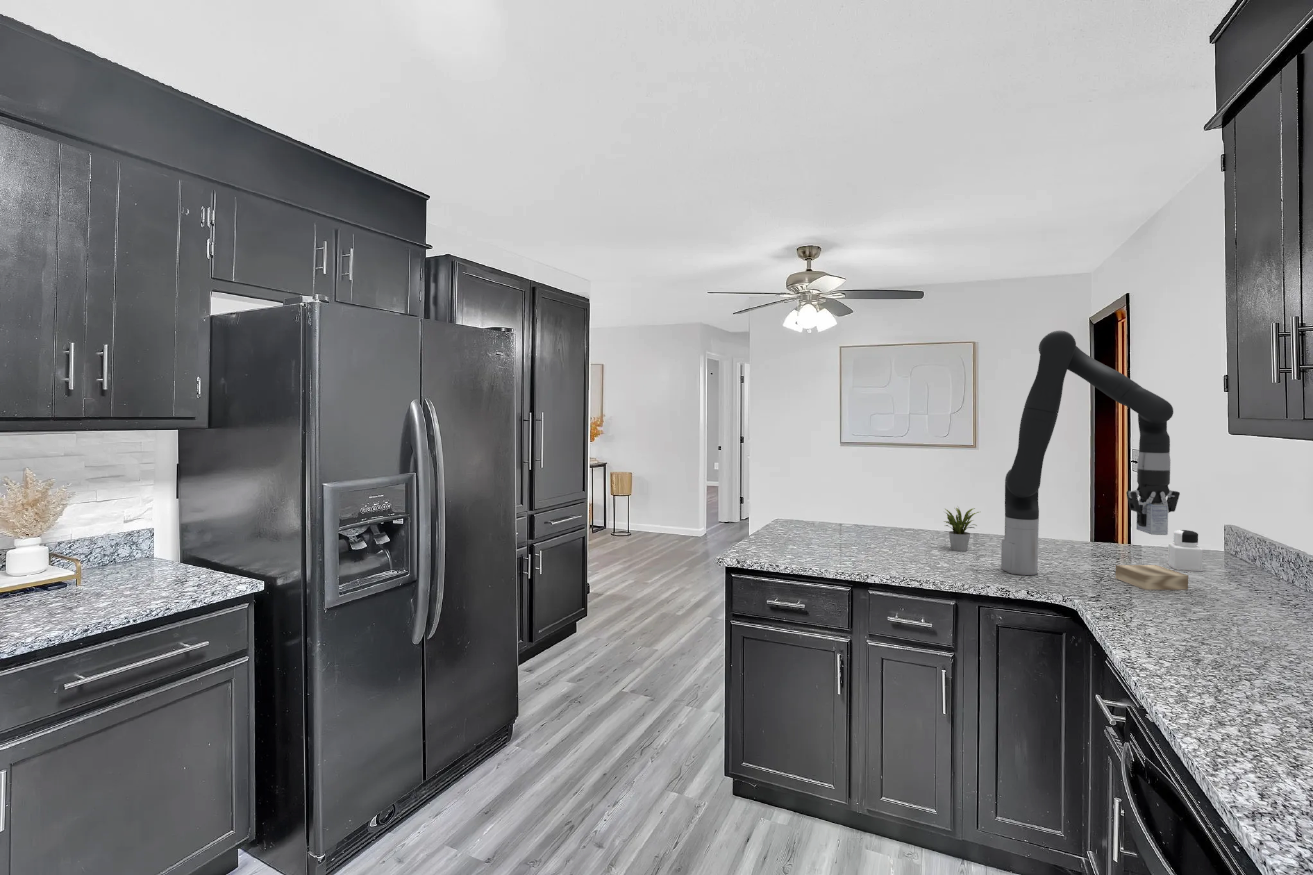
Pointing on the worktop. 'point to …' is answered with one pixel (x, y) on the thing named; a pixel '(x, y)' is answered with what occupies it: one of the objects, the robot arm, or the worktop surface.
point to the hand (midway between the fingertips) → (1151, 525)
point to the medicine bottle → (1185, 551)
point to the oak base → (1152, 577)
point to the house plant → (959, 530)
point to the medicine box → (1156, 519)
